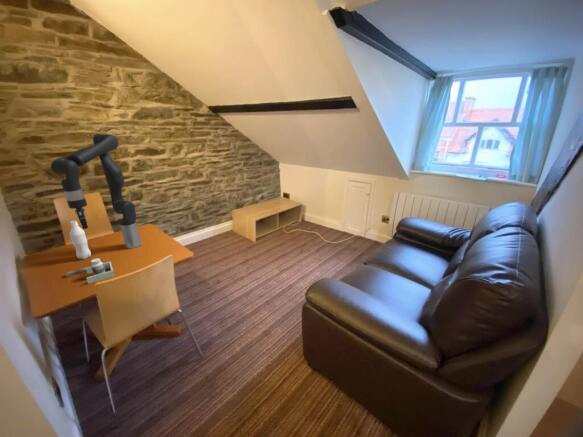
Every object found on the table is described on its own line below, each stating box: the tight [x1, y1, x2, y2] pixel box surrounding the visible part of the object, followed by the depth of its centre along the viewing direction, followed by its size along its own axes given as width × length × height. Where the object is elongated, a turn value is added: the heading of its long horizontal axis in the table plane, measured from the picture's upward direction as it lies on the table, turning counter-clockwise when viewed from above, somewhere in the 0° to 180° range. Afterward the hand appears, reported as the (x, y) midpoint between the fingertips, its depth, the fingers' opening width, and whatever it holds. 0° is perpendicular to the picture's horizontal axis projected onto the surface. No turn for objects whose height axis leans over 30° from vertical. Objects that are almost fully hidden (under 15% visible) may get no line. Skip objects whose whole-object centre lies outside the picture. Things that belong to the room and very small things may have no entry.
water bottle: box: [69, 220, 92, 260], centre depth 151 cm, size 7×7×25 cm
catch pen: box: [85, 261, 116, 284], centre depth 138 cm, size 12×13×4 cm
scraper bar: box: [64, 265, 91, 279], centre depth 139 cm, size 13×6×3 cm, turn 130°
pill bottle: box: [90, 258, 106, 276], centre depth 136 cm, size 5×5×10 cm
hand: (85, 226), depth 134 cm, fingers open, 8 cm apart
